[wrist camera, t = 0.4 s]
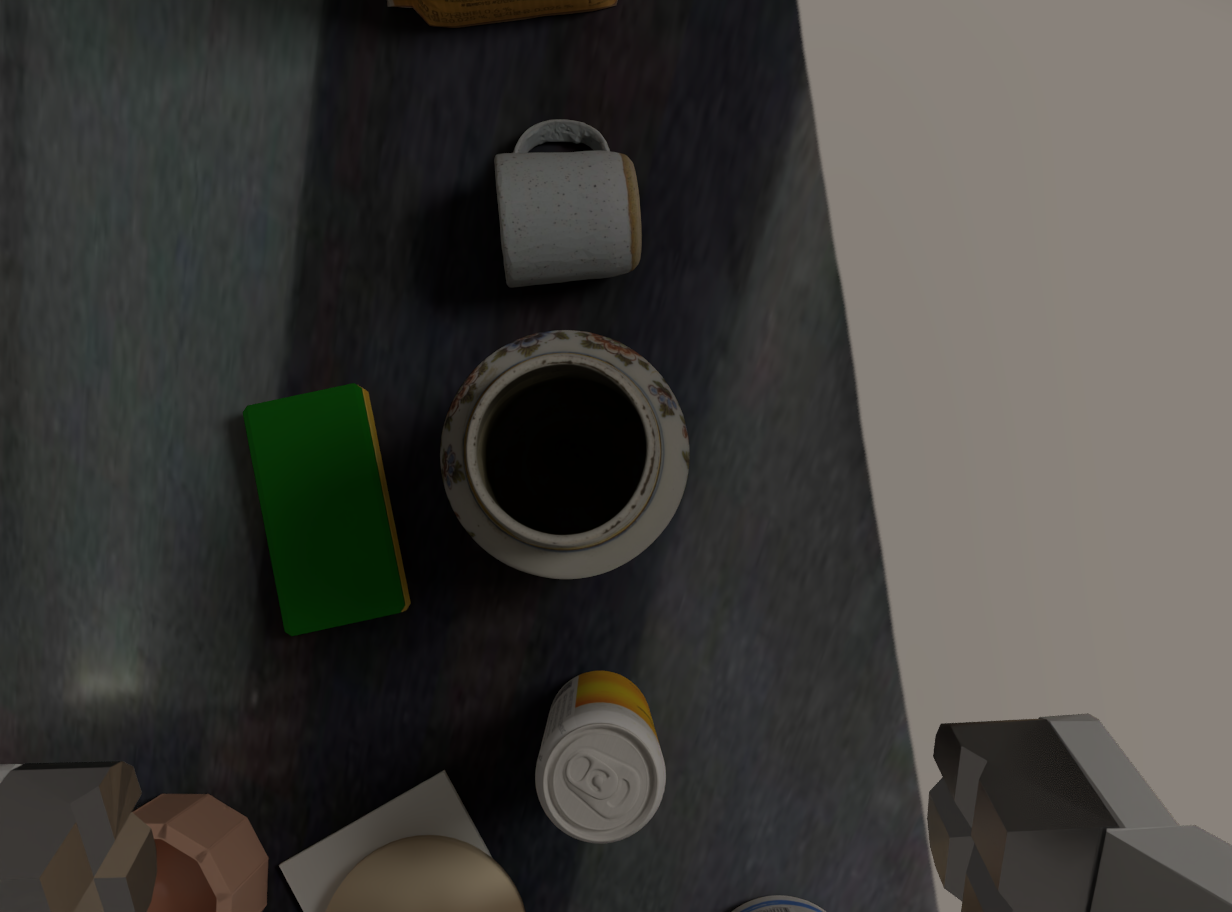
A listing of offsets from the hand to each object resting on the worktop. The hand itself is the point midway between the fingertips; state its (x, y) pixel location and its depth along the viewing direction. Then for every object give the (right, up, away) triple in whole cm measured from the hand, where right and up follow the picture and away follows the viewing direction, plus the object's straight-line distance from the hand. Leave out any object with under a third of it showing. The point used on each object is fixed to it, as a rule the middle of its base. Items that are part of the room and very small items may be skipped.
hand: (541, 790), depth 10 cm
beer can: (0, -12, +51) cm, 53 cm away
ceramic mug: (-3, +18, +53) cm, 56 cm away
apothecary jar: (-2, +3, +52) cm, 52 cm away
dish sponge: (-16, 0, +52) cm, 55 cm away
